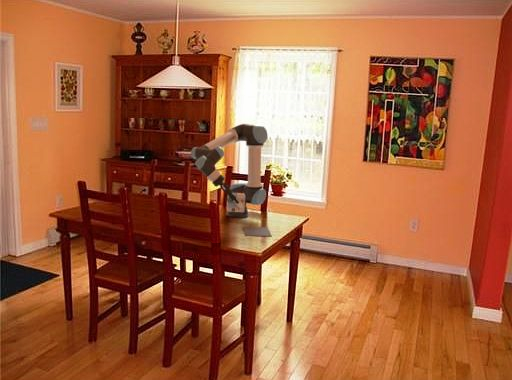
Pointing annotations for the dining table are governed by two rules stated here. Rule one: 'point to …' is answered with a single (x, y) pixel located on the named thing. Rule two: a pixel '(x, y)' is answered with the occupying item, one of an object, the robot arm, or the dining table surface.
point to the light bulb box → (232, 205)
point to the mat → (256, 231)
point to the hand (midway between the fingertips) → (241, 205)
